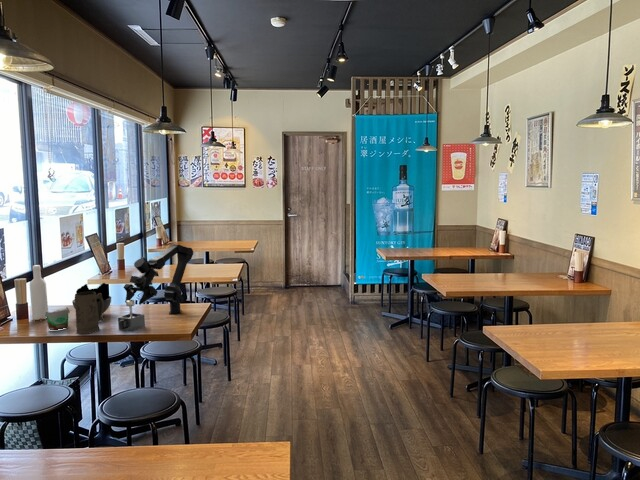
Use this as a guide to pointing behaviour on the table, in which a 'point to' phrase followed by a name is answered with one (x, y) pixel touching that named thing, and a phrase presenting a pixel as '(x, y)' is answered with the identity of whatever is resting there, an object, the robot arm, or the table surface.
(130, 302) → the plunger
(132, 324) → the press body
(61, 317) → the food container
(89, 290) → the coal bowl
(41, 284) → the bottle
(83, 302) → the beer stein
